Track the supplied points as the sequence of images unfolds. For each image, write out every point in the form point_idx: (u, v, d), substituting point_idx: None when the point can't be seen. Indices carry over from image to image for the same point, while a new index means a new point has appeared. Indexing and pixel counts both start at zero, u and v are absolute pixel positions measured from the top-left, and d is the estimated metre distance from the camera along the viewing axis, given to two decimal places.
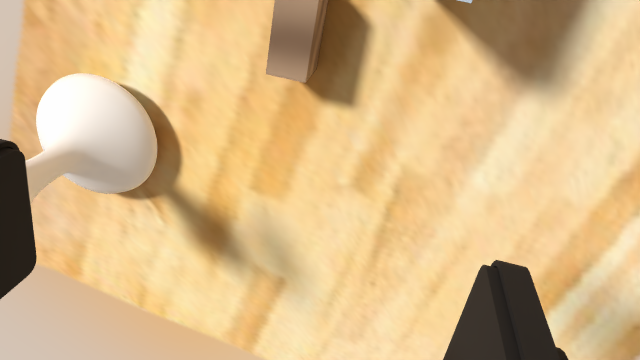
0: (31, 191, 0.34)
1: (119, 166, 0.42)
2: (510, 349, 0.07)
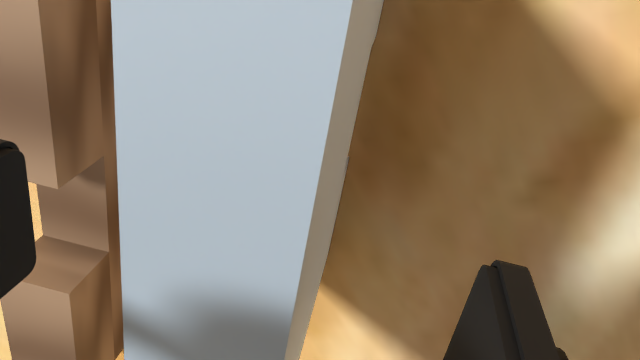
0: None
1: None
2: (510, 349, 0.07)
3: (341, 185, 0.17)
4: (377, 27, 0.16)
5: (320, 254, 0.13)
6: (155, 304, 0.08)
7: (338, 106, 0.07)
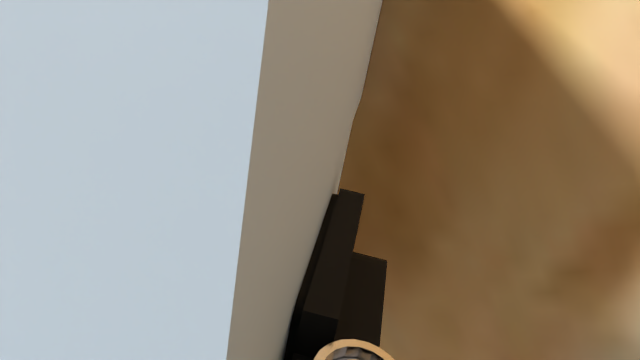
0: None
1: None
2: (316, 246, 0.08)
3: None
4: (362, 88, 0.13)
5: None
6: None
7: (260, 336, 0.04)
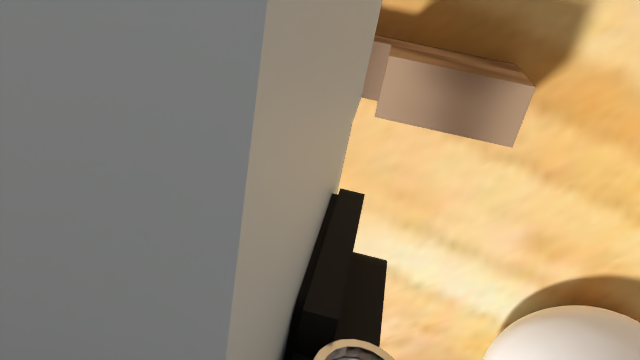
0: None
1: None
2: (316, 247, 0.08)
3: None
4: (362, 89, 0.13)
5: None
6: None
7: (259, 340, 0.04)
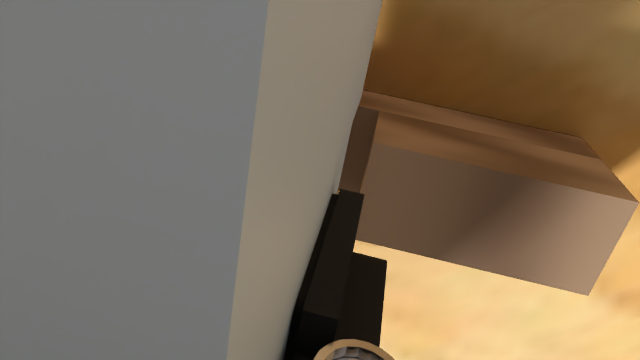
0: None
1: None
2: (316, 246, 0.08)
3: None
4: (362, 89, 0.13)
5: None
6: None
7: (260, 340, 0.04)
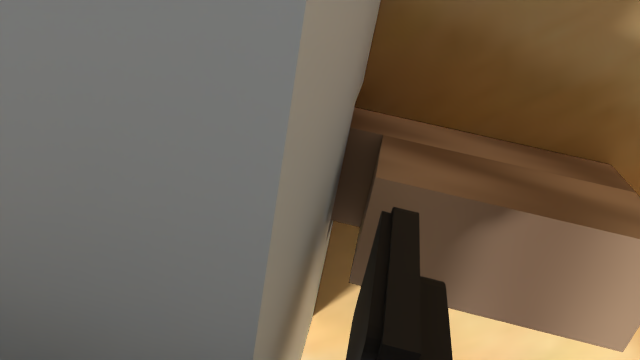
0: None
1: None
2: (380, 271, 0.08)
3: (324, 250, 0.15)
4: (364, 74, 0.14)
5: (293, 350, 0.11)
6: None
7: (288, 236, 0.05)
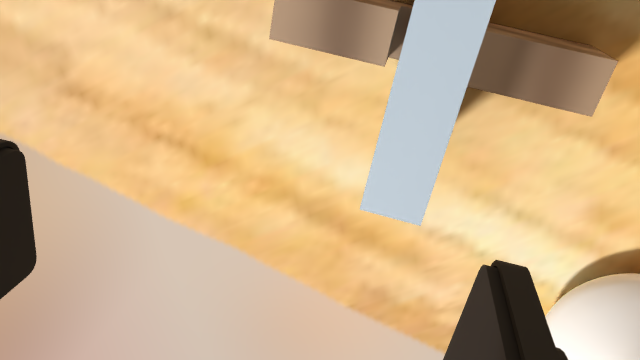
0: None
1: None
2: (510, 349, 0.07)
3: None
4: None
5: None
6: (406, 87, 0.21)
7: None
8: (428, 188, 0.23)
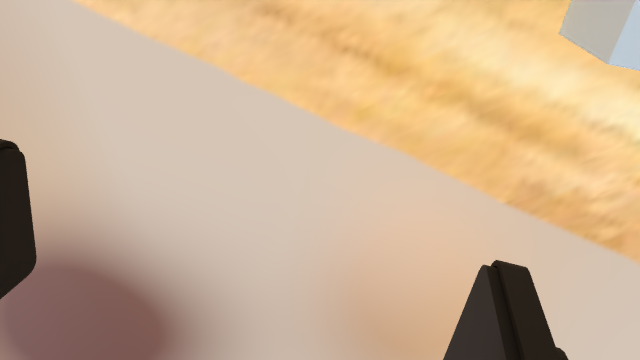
0: None
1: None
2: (510, 349, 0.07)
3: None
4: None
5: None
6: None
7: None
8: None
